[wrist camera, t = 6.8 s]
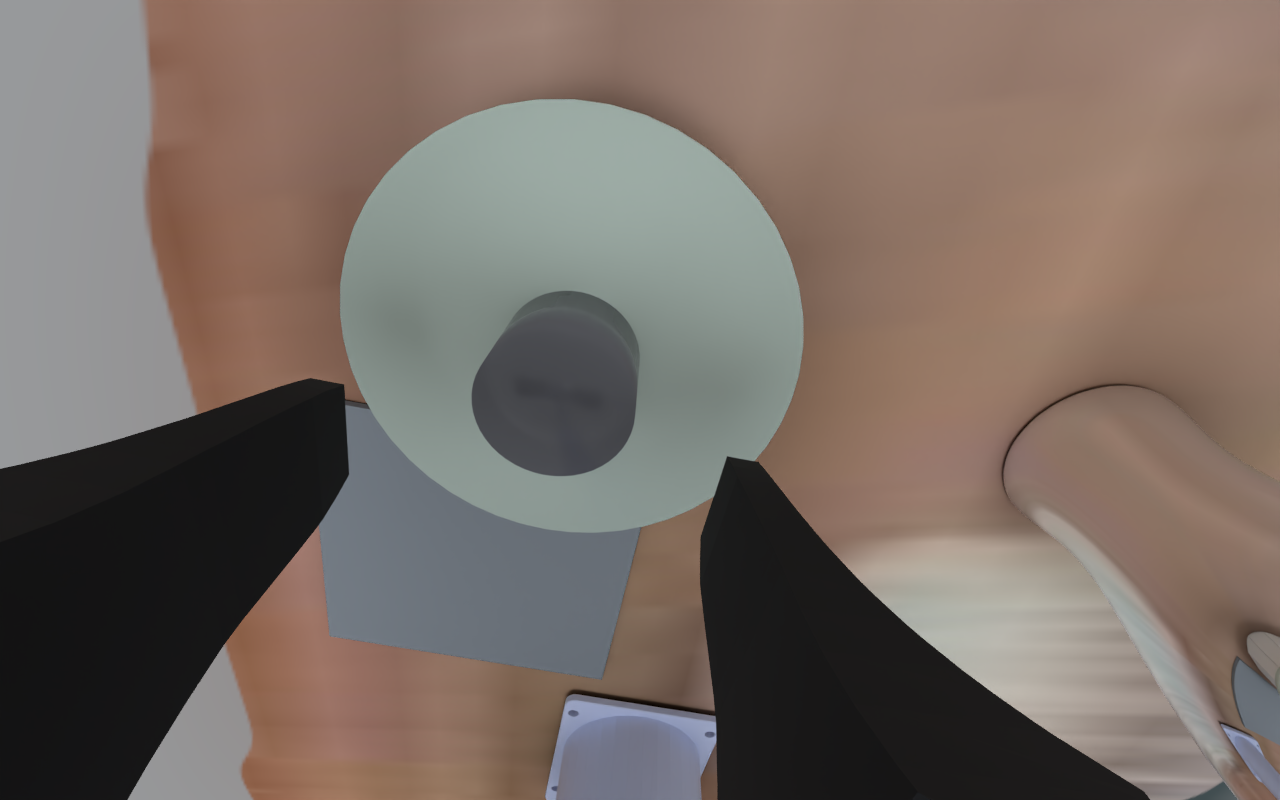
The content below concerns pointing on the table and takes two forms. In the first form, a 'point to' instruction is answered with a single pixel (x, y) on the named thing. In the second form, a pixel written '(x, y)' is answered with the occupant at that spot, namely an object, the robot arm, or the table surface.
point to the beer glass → (1171, 560)
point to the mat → (462, 569)
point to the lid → (571, 315)
